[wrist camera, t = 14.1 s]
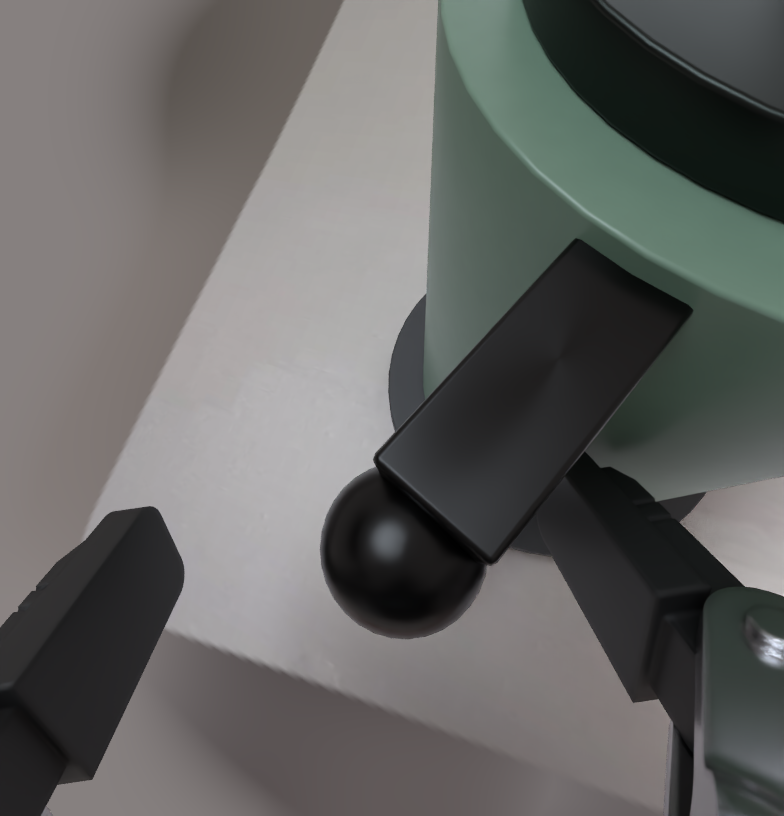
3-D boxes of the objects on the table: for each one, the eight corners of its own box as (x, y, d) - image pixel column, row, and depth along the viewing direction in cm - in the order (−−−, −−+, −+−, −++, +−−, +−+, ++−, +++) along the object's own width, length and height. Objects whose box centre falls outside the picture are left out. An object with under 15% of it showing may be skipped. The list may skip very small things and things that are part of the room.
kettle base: (654, 627, 16) (672, 632, 14) (334, 458, 18) (328, 452, 17) (745, 329, 19) (766, 315, 18) (466, 226, 22) (469, 208, 21)
